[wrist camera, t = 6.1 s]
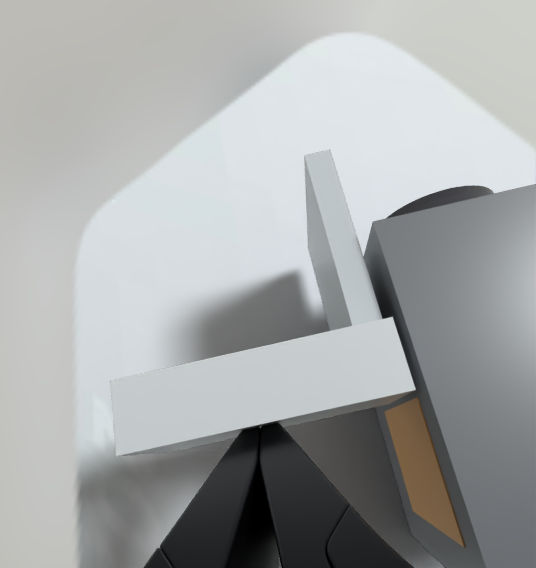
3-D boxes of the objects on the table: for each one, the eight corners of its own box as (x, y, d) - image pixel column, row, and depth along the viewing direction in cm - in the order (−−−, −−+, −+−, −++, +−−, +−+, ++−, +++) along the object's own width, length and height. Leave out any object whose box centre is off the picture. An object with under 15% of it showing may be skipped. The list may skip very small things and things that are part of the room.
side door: (372, 412, 15) (415, 389, 9) (201, 449, 15) (115, 456, 9) (325, 243, 17) (331, 123, 11) (177, 278, 18) (94, 180, 11)
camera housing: (556, 503, 15) (797, 565, 7) (410, 534, 15) (503, 625, 8) (462, 263, 18) (565, 138, 11) (341, 291, 18) (360, 186, 11)
